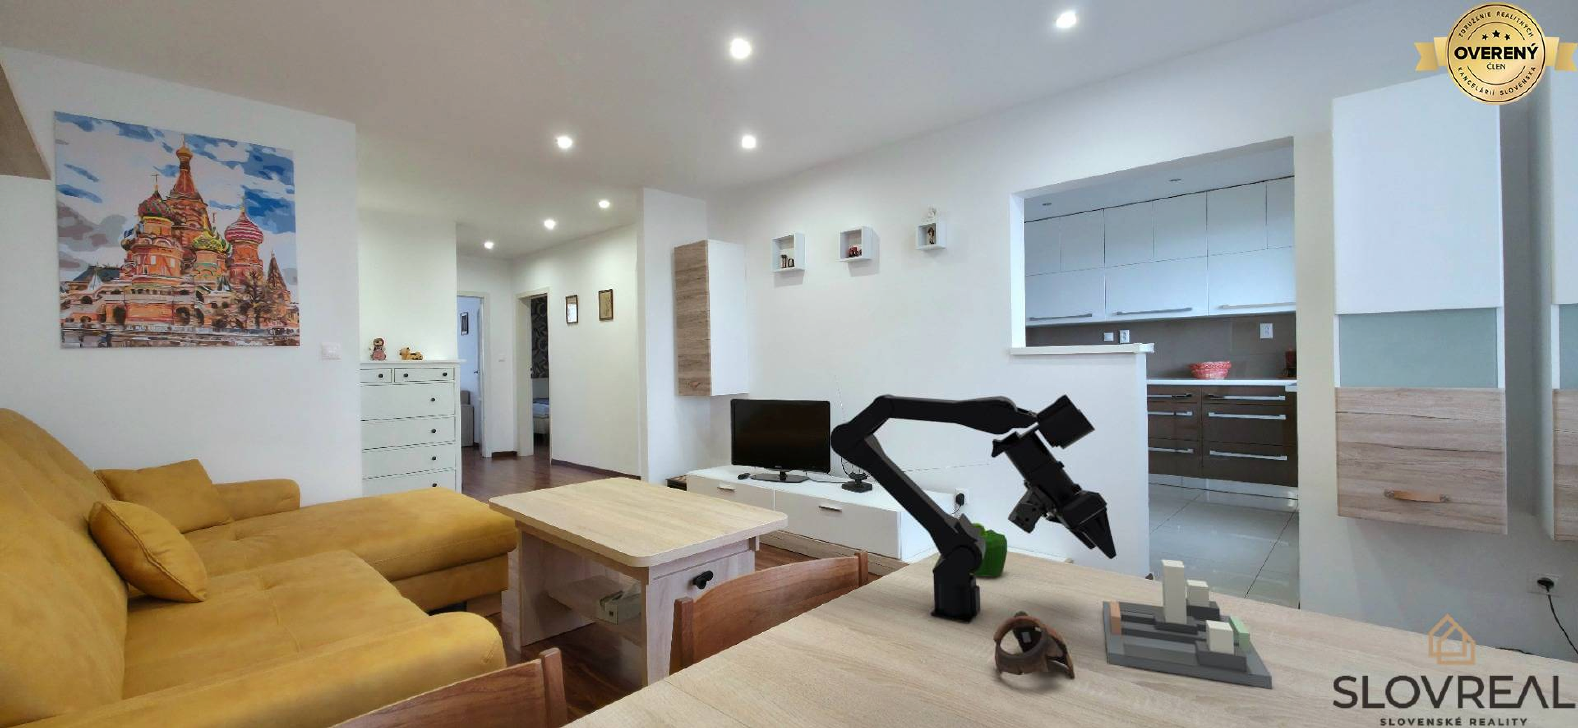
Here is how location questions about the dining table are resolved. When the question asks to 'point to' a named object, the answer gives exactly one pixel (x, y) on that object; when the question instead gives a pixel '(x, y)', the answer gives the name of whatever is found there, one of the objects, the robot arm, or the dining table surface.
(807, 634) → the dining table surface
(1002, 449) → the robot arm
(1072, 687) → the dining table surface
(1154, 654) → the board
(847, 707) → the dining table surface
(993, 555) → the bell pepper
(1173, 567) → the breaker handle
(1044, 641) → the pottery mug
